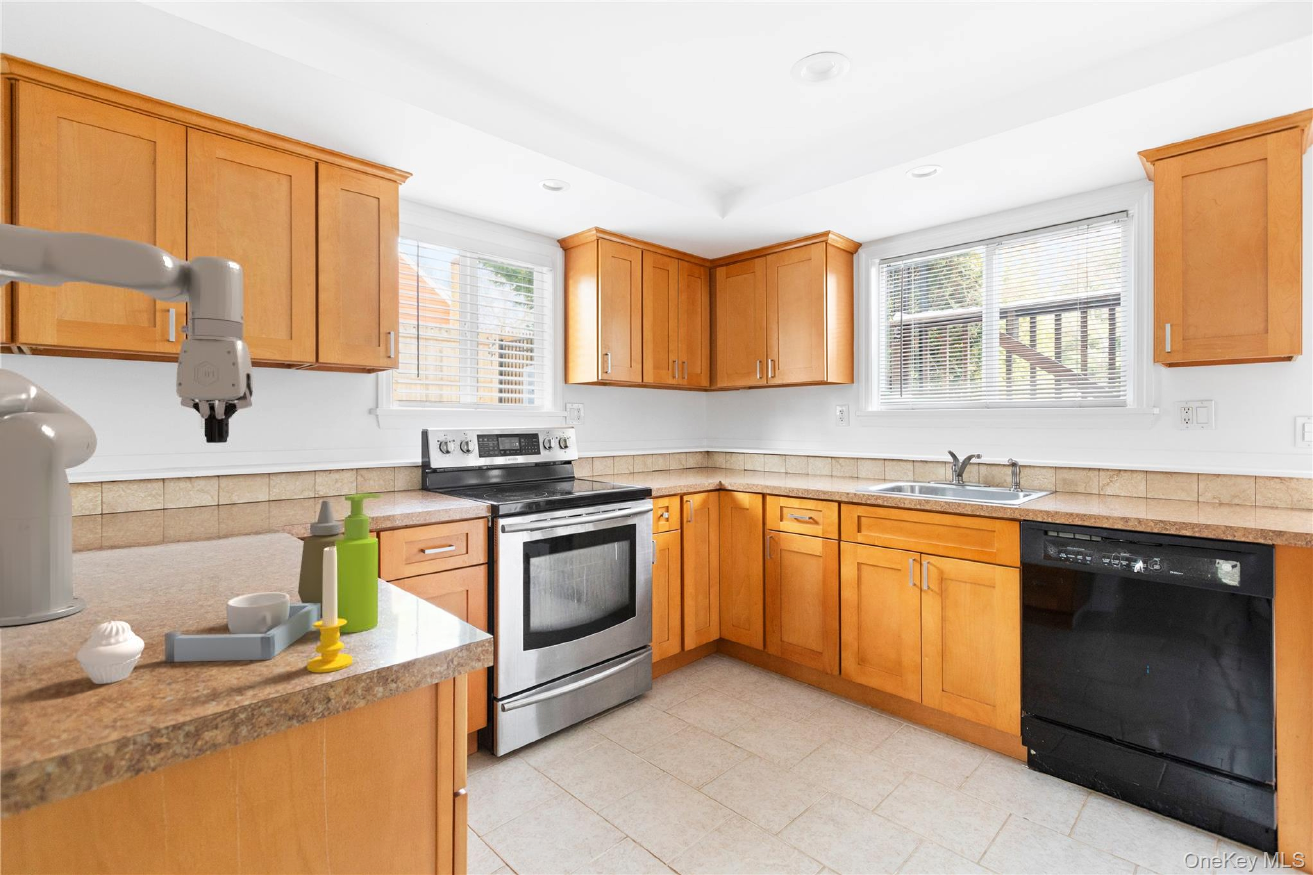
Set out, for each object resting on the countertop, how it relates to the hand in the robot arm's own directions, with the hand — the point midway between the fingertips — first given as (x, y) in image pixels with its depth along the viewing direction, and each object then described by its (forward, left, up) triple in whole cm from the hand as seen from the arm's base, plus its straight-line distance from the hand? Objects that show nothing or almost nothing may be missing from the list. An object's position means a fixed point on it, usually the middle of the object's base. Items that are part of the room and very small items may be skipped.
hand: (216, 442), depth 108 cm
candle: (+30, -30, -27) cm, 50 cm away
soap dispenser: (+28, -14, -27) cm, 42 cm away
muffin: (+6, -33, -27) cm, 43 cm away
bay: (+15, -20, -27) cm, 37 cm away
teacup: (+16, -19, -27) cm, 37 cm away
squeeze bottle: (+20, -6, -27) cm, 34 cm away
